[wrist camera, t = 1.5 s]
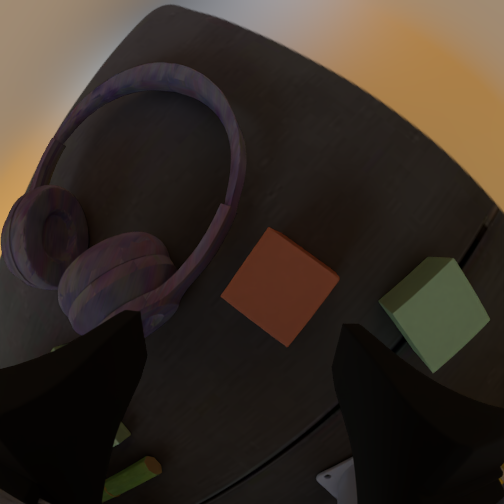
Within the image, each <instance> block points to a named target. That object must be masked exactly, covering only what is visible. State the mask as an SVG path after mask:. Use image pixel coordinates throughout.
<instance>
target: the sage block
mask: <svg viewBox="0 0 504 504" xmlns="http://www.w3.org/2000/svg"><path fill="white" fill-rule="evenodd" d="M378 302H379V303H380V305H381V306H382V307H383V309H384V310H385V311H386V313H387V314H388V315H389V317H390V318H391V319H392V321H393V322H394V324H395V325H396V326H397V328H398V329H399V331H400V332H401V333H402V335H403V336H404V338H405V339H406V340H407V342H408V343H409V345H410V346H411V348H412V349H413V350H414V351H415V353H416V354H417V355H418V356H419V357H420V358H421V360H422V361H423V362H424V363H425V364H426V365H427V367H428V368H429V369H430V370H431V371H432V373H434V372H435V371H437V370H438V369H439V368H440V367H441V366H442V365H444V364H445V363H446V362H447V361H448V360H449V359H450V358H452V357H453V356H454V355H455V354H456V353H457V352H458V351H459V350H460V349H461V348H462V347H464V346H465V345H466V344H467V343H468V342H469V341H470V340H471V339H472V338H473V337H474V336H475V335H476V334H477V333H478V332H479V331H480V330H481V329H482V328H483V327H484V326H485V325H486V324H487V323H488V322H489V321H490V318H489V316H488V314H487V313H486V311H485V309H484V307H483V305H482V304H481V302H480V300H479V298H478V297H477V295H476V293H475V291H474V290H473V288H472V286H471V285H470V283H469V281H468V280H467V278H466V277H465V275H464V273H463V272H462V270H461V269H460V267H459V265H458V264H457V262H456V261H455V259H454V258H443V257H427V258H426V259H425V260H424V261H423V262H422V263H420V264H419V265H418V266H417V267H416V268H415V269H414V270H413V271H412V272H411V273H410V274H408V275H407V276H406V277H405V278H404V279H403V280H402V281H401V282H399V283H398V284H397V285H396V286H395V287H394V288H393V289H391V290H390V291H389V292H388V293H387V294H386V295H384V296H383V297H382V298H381V299H380V300H378Z"/></svg>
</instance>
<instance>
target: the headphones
mask: <svg viewBox="0 0 504 504" xmlns="http://www.w3.org/2000/svg"><path fill="white" fill-rule="evenodd" d="M148 90H160V91H169V92H177V93H180V94H183V95H186V96H190V97H192V98H195V99H197V100H199V101H201V102H202V103H204V104H205V105H207V106H208V107H209V108H211V109H212V110H213V112H214V113H215V114H216V115H217V116H218V117H219V119H220V120H221V122H222V123H223V125H224V127H225V130H226V132H227V134H228V138H229V142H230V150H231V169H230V177H229V184H228V188H227V193H226V198H225V203H224V204H220V206H219V208H218V210H217V213H216V215H215V217H214V219H213V221H212V223H211V224H210V226H209V228H208V230H207V232H206V234H205V235H204V237H203V238H202V240H201V242H200V243H199V245H198V246H197V247H196V249H195V250H194V251H193V253H192V254H191V255H190V256H189V258H188V259H187V260H186V261H185V262H184V264H183V265H182V266H181V267H180V268H179V270H178V271H177V268H176V267H175V265H174V264H173V262H172V261H171V259H170V257H169V253H168V250H167V248H166V247H165V245H164V244H163V242H162V241H160V240H159V239H158V238H157V237H155V236H153V235H151V234H149V233H146V232H128V233H123V234H119V235H116V236H113V237H110V238H108V239H106V240H103V241H101V242H99V243H98V244H96V245H94V246H92V247H91V248H89V249H88V244H89V235H88V226H87V221H86V218H85V214H84V212H83V209H82V207H81V205H80V203H79V202H78V200H77V199H76V198H75V196H74V195H73V194H72V193H70V192H69V191H68V190H66V189H64V188H62V187H59V186H56V185H49V183H50V180H51V177H52V174H53V171H54V169H55V167H56V164H57V162H58V160H59V158H60V156H61V154H62V152H63V150H64V149H65V147H66V146H65V145H63V144H64V142H65V141H66V140H67V139H68V138H69V136H70V135H71V134H72V133H73V132H74V130H75V129H76V128H77V127H78V126H79V125H80V124H81V123H82V122H83V121H84V120H85V119H86V118H87V117H88V116H89V115H91V114H92V113H93V112H95V111H96V110H97V109H98V108H100V107H102V106H103V105H105V104H107V103H109V102H111V101H113V100H115V99H117V98H119V97H122V96H124V95H128V94H131V93H135V92H141V91H148ZM246 163H247V162H246V147H245V141H244V138H243V135H242V132H241V129H240V127H239V125H238V122H237V120H236V117H235V115H234V113H233V111H232V108H231V106H230V104H229V102H228V100H227V99H226V97H225V95H224V94H223V93H222V91H221V90H220V89H219V88H218V87H217V85H215V84H214V83H213V82H212V81H211V80H209V79H208V78H207V77H206V76H205V75H203V74H202V73H200V72H198V71H196V70H194V69H192V68H190V67H187V66H183V65H180V64H177V63H176V64H170V63H166V62H156V63H148V64H143V65H139V66H136V67H133V68H130V69H128V70H125V71H123V72H121V73H119V74H117V75H115V76H113V77H111V78H110V79H108V80H107V81H105V82H104V83H102V84H101V85H99V86H98V87H96V88H95V89H94V90H93V91H91V92H90V93H89V94H88V95H87V96H86V97H85V98H84V99H83V100H82V101H81V102H80V103H79V104H78V105H77V106H76V107H75V108H74V109H73V110H72V112H71V113H70V114H69V115H68V117H67V118H66V119H65V121H64V122H63V124H62V125H61V127H60V128H59V130H58V131H57V133H56V134H55V136H54V138H52V139H51V141H50V143H49V144H48V146H47V148H46V150H45V152H44V153H43V155H42V158H41V160H40V162H39V164H38V167H37V169H36V172H35V175H34V178H33V181H32V184H31V188H30V190H29V192H28V193H26V194H24V195H23V196H21V197H20V198H19V199H18V200H17V201H16V202H15V204H14V205H13V206H12V208H11V210H10V212H9V215H8V217H7V219H6V221H5V223H4V226H3V229H2V234H1V250H2V255H3V258H4V261H5V263H6V265H7V267H8V268H9V270H10V271H11V272H12V273H13V274H14V275H15V276H16V277H18V278H19V279H20V280H21V281H23V282H24V283H25V284H27V285H29V286H31V287H36V288H41V289H45V290H57V289H58V300H59V304H60V307H61V309H62V311H63V312H64V314H65V315H66V316H67V317H68V318H69V321H70V323H71V325H72V327H73V329H74V330H75V332H76V333H78V334H81V335H84V334H86V333H87V332H89V331H91V330H92V329H94V328H95V327H97V326H99V325H100V324H102V323H103V322H105V321H107V320H108V319H110V318H111V317H113V316H115V315H116V314H118V313H120V312H122V311H124V310H132V311H141V319H142V326H143V332H144V338H145V337H147V336H148V335H150V334H151V333H153V332H154V331H155V330H157V329H158V328H160V327H161V326H162V325H163V324H164V323H165V322H167V321H168V320H169V319H170V318H171V317H172V316H173V315H174V313H175V312H176V311H177V309H178V307H179V303H180V300H181V298H182V296H183V295H184V293H185V292H186V290H187V289H188V288H189V286H190V285H191V284H192V283H193V282H194V281H195V279H196V278H197V277H198V276H199V275H200V274H201V273H202V271H203V270H204V269H205V268H206V267H207V266H208V264H209V263H210V261H211V260H212V259H213V257H214V256H215V254H216V252H217V251H218V249H219V248H220V246H221V244H222V243H223V241H224V239H225V237H226V235H227V233H228V231H229V229H230V227H231V225H232V223H233V221H234V219H235V216H236V214H237V213H236V210H237V207H238V203H239V199H240V195H241V192H242V188H243V185H244V179H245V173H246Z"/></svg>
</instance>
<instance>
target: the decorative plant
mask: <svg viewBox="0 0 504 504" xmlns="http://www.w3.org/2000/svg"><path fill="white" fill-rule="evenodd" d="M160 473H162V469H161V464H160V463H159V462H158V461H157V460H156V459H155V458H154V457H150V456H146V457H144V458H142V459H141V460H139V461H137V462H136V463H134V464H132V465H131V466H129V467H127V468H126V469H124V470H122V471H120V472H119V473H117V474H115V475H113V476H112V477H110V478H108V479H105V485H104V491H103V498H102V503H103V502H105V501H107V500H109V499H111V498H114V497H118V496H120V494H122V493H124V492H126V491H128V490H130V489H132V488H134V487H136V486H138V485H140V484H142V483H144V482H146V481H147V480H149V479H151V478H153V477H155V476H157V475H159V474H160Z"/></svg>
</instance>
